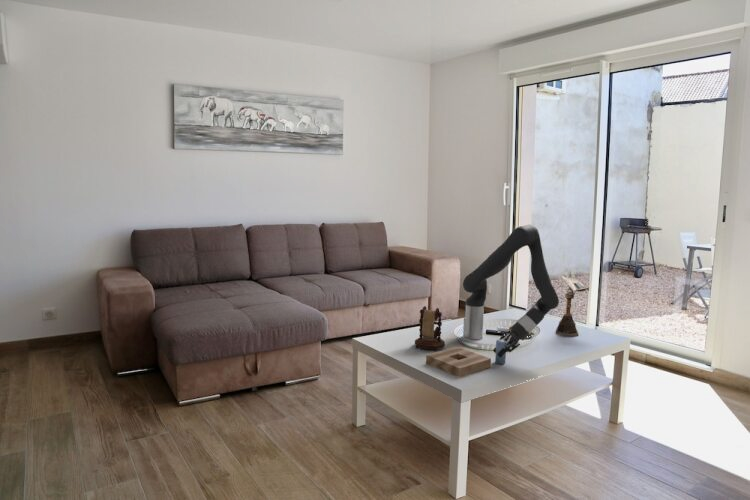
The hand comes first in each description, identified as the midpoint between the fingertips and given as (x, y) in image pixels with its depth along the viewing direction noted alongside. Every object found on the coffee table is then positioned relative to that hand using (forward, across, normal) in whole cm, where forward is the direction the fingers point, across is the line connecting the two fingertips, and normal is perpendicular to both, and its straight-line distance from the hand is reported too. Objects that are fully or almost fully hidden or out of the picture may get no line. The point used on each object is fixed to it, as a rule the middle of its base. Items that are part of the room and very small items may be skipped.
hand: (496, 353), depth 234 cm
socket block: (+16, +1, -10) cm, 19 cm away
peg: (+2, 0, +4) cm, 5 cm away
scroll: (+20, -25, -14) cm, 35 cm away
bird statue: (-37, -38, +44) cm, 69 cm away
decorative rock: (-17, -40, +24) cm, 50 cm away
